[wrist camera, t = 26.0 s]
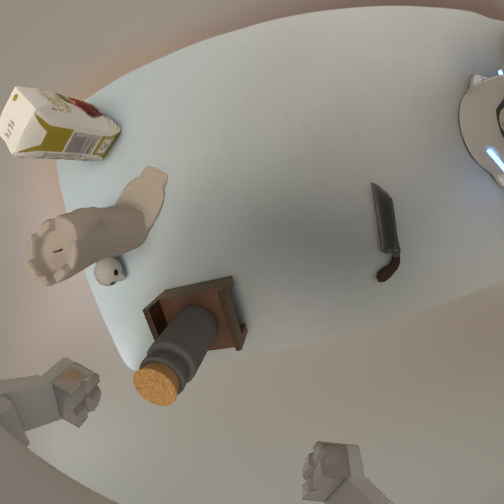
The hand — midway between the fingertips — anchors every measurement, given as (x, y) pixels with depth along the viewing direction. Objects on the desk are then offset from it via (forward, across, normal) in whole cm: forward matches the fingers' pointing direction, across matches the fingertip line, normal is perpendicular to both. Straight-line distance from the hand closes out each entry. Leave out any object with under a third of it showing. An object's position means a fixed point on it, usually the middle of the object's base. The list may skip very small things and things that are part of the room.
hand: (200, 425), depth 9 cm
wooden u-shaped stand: (+33, +7, +13) cm, 36 cm away
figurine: (+33, +23, +10) cm, 42 cm away
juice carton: (+33, +31, -11) cm, 47 cm away
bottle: (+29, +7, +13) cm, 32 cm away
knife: (+33, -15, -6) cm, 37 cm away
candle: (+33, +21, 0) cm, 39 cm away
